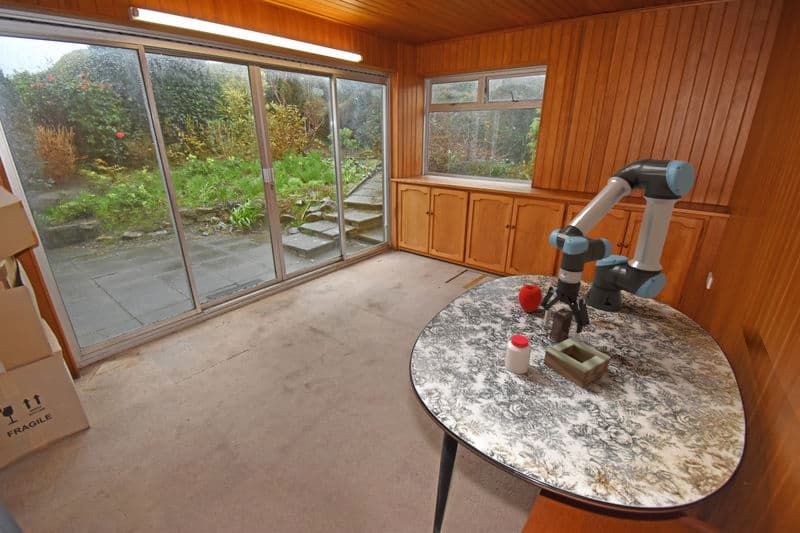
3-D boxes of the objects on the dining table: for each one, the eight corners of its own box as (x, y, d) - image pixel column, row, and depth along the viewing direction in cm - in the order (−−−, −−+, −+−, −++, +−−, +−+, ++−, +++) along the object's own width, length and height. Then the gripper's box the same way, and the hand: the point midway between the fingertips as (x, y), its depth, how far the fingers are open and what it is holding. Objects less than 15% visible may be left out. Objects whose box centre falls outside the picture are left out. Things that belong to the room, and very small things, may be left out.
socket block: (568, 351, 127) (571, 337, 125) (606, 372, 116) (610, 357, 113) (543, 363, 120) (546, 349, 118) (581, 387, 109) (584, 371, 107)
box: (559, 344, 131) (564, 316, 127) (549, 338, 134) (553, 311, 130) (568, 339, 134) (574, 311, 130) (558, 334, 138) (563, 307, 133)
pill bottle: (511, 356, 124) (515, 330, 120) (532, 366, 119) (536, 339, 115) (500, 366, 119) (503, 339, 115) (521, 377, 114) (525, 348, 110)
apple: (530, 303, 162) (534, 279, 158) (545, 313, 153) (549, 288, 149) (512, 307, 159) (515, 282, 155) (526, 317, 150) (529, 291, 146)
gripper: (535, 271, 133) (528, 320, 141) (595, 294, 114) (583, 350, 122) (547, 267, 137) (540, 315, 144) (608, 289, 117) (596, 343, 125)
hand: (560, 331), depth 133 cm, fingers open, 12 cm apart
